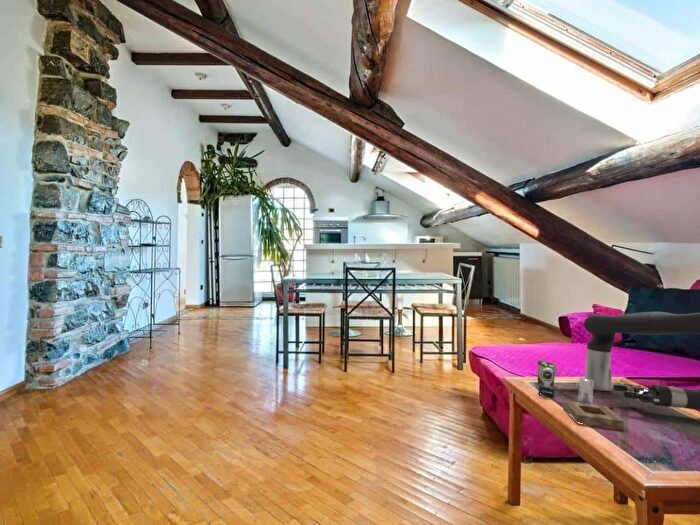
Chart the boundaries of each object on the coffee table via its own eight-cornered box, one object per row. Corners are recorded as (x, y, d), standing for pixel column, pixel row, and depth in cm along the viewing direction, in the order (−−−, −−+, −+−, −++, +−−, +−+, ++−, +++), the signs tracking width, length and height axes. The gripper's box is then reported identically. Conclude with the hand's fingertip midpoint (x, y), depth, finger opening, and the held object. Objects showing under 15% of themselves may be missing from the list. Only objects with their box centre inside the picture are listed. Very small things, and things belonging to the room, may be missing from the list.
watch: (538, 395, 155) (540, 369, 155) (539, 390, 162) (541, 365, 162) (553, 398, 152) (555, 371, 152) (554, 393, 159) (556, 367, 159)
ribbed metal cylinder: (589, 403, 149) (590, 378, 149) (594, 407, 144) (595, 382, 144) (575, 401, 150) (577, 376, 150) (580, 406, 146) (582, 380, 146)
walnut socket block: (605, 415, 139) (605, 405, 139) (623, 431, 125) (624, 421, 125) (563, 409, 142) (564, 400, 142) (577, 425, 128) (577, 414, 128)
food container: (560, 391, 162) (562, 368, 162) (545, 389, 163) (547, 366, 163) (550, 382, 174) (551, 361, 174) (536, 381, 175) (537, 359, 175)
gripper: (657, 380, 148) (610, 375, 152) (679, 392, 134) (628, 386, 138) (656, 399, 148) (609, 394, 152) (678, 413, 134) (627, 407, 138)
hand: (618, 390), depth 145 cm, fingers open, 8 cm apart
